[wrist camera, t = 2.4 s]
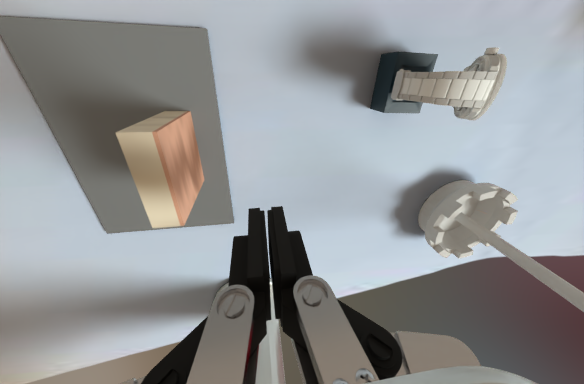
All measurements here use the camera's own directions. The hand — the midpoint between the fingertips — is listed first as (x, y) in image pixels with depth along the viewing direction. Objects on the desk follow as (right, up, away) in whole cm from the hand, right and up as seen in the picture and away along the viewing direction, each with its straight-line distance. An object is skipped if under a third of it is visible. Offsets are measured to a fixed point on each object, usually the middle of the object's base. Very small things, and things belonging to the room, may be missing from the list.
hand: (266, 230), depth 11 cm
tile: (-11, +7, +13) cm, 18 cm away
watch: (+13, +15, +14) cm, 24 cm away
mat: (-15, +7, +13) cm, 20 cm away
